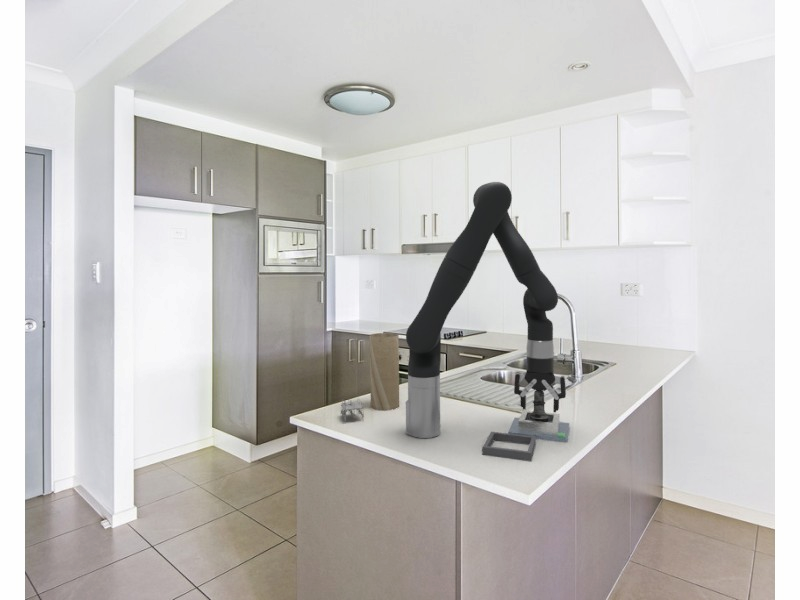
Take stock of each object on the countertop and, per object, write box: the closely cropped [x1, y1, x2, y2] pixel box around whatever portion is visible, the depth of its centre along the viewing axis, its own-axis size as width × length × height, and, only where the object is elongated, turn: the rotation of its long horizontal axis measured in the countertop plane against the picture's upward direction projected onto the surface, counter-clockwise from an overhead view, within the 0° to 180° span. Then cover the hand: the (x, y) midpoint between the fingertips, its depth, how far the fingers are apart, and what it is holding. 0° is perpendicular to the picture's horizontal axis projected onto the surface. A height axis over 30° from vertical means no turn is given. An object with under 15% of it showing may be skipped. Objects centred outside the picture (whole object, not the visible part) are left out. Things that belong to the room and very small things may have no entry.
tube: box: [369, 332, 400, 411], centre depth 162 cm, size 10×10×25 cm
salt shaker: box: [529, 390, 550, 422], centre depth 136 cm, size 6×6×12 cm
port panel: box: [507, 409, 570, 443], centre depth 136 cm, size 16×14×4 cm
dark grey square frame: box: [482, 431, 537, 462], centre depth 123 cm, size 12×12×2 cm
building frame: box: [340, 399, 365, 424], centre depth 150 cm, size 6×8×6 cm
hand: (539, 410), depth 136 cm, fingers open, 8 cm apart
